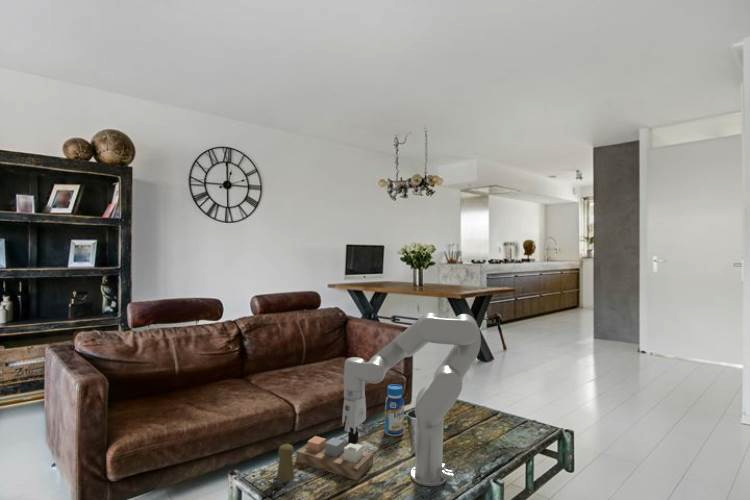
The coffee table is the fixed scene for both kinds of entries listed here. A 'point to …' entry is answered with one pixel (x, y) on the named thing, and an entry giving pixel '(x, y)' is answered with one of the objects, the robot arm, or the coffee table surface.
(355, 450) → the key ivory
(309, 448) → the key terracotta
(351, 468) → the wooden slotted tray
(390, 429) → the beverage bottle
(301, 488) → the coffee table surface
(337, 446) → the grey cube
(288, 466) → the cork
